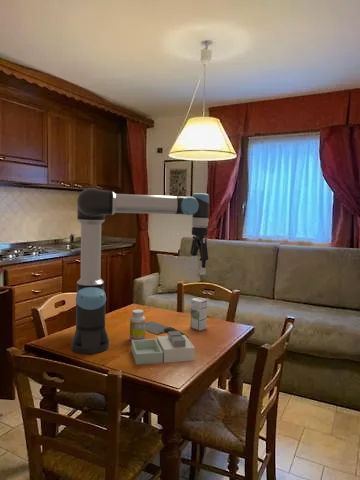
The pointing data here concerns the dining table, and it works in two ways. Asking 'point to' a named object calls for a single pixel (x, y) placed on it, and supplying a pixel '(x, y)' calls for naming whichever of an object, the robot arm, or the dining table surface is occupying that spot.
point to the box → (146, 351)
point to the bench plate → (176, 350)
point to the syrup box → (198, 313)
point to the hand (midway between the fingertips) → (198, 271)
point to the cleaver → (159, 328)
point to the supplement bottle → (137, 325)
